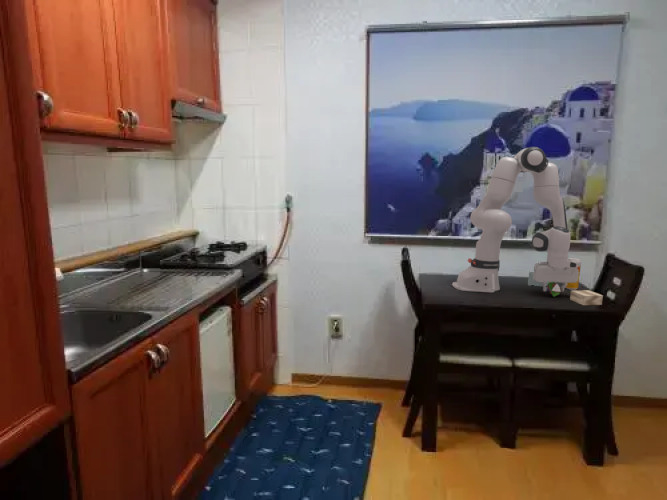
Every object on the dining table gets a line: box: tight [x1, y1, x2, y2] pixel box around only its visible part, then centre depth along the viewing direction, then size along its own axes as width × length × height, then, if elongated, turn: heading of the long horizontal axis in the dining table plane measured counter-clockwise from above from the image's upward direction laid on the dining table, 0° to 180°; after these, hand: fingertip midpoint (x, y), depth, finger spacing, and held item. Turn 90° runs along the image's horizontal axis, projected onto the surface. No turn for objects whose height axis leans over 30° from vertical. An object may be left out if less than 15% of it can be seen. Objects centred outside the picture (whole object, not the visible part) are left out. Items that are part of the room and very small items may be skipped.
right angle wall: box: [527, 270, 549, 287], centre depth 247 cm, size 12×12×8 cm
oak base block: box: [569, 289, 604, 306], centre depth 213 cm, size 9×9×4 cm
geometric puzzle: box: [546, 282, 562, 298], centre depth 222 cm, size 7×7×8 cm
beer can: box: [564, 257, 582, 291], centre depth 237 cm, size 6×6×15 cm
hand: (553, 291), depth 223 cm, fingers open, 6 cm apart
